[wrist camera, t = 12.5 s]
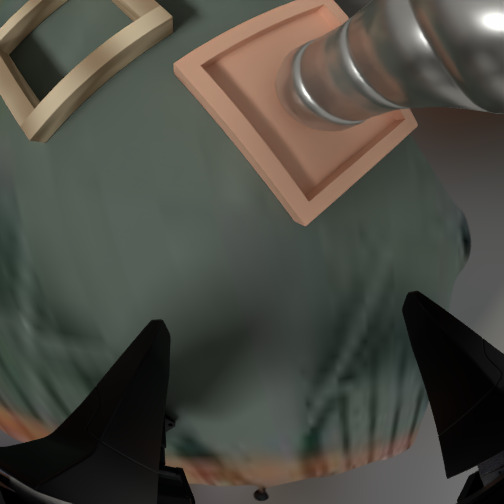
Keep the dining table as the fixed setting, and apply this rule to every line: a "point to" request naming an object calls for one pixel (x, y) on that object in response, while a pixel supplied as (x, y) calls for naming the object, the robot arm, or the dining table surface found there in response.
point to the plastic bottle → (397, 63)
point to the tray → (274, 115)
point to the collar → (84, 74)
